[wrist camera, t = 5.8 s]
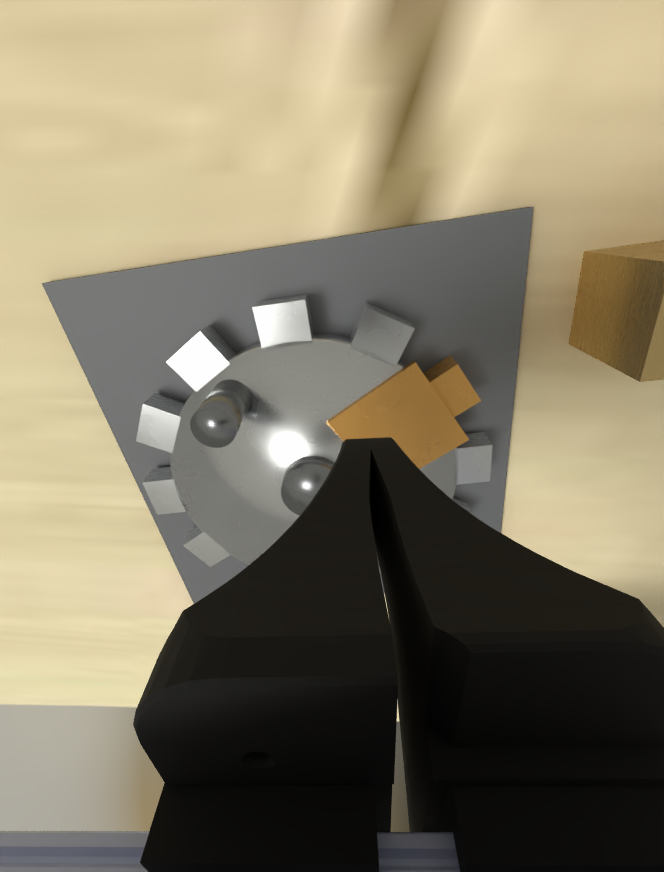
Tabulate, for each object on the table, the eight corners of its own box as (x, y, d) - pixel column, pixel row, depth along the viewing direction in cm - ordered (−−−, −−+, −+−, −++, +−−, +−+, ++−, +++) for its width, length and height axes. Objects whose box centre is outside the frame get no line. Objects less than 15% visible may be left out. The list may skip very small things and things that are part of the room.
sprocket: (539, 493, 22) (581, 550, 18) (297, 615, 27) (290, 678, 23) (348, 198, 15) (351, 189, 11) (79, 441, 20) (20, 490, 17)
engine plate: (493, 579, 26) (495, 584, 26) (197, 602, 28) (195, 607, 27) (529, 207, 16) (533, 206, 15) (47, 282, 17) (41, 283, 17)
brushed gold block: (657, 332, 18) (758, 368, 14) (568, 343, 18) (639, 381, 14) (683, 237, 16) (812, 243, 12) (583, 251, 16) (672, 262, 12)
